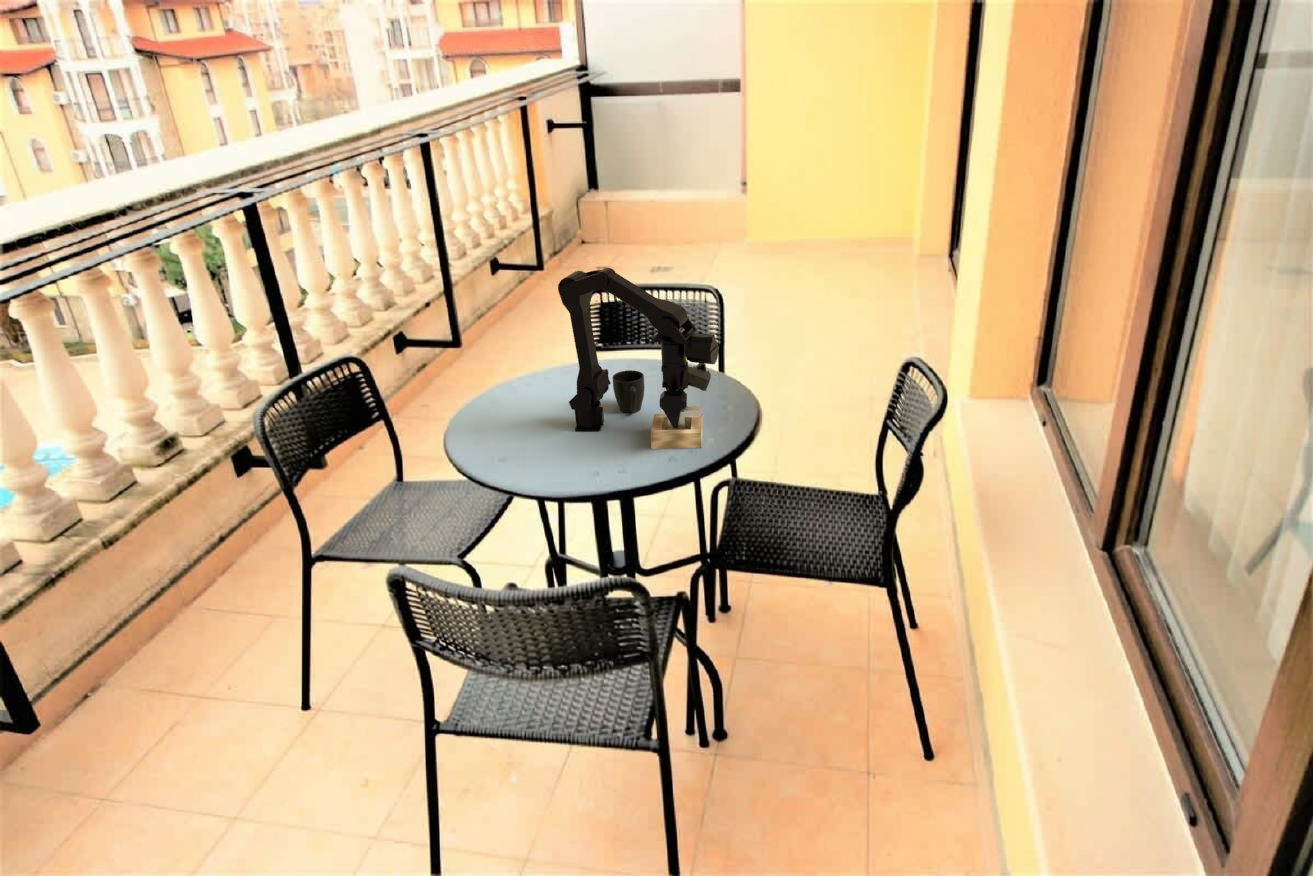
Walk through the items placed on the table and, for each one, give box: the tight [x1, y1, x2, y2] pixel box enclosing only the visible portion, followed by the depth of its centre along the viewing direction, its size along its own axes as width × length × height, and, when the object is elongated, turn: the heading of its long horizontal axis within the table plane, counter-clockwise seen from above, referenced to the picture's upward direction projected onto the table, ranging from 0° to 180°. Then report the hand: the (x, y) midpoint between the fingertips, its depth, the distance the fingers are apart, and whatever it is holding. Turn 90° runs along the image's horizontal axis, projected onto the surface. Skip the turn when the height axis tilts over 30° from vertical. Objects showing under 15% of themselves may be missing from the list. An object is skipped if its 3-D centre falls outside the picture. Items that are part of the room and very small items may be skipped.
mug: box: [612, 369, 645, 414], centre depth 219 cm, size 8×12×10 cm
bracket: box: [668, 405, 702, 430], centre depth 204 cm, size 8×4×8 cm, turn 86°
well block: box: [650, 412, 704, 450], centre depth 205 cm, size 12×11×4 cm
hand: (676, 419), depth 204 cm, fingers open, 9 cm apart
